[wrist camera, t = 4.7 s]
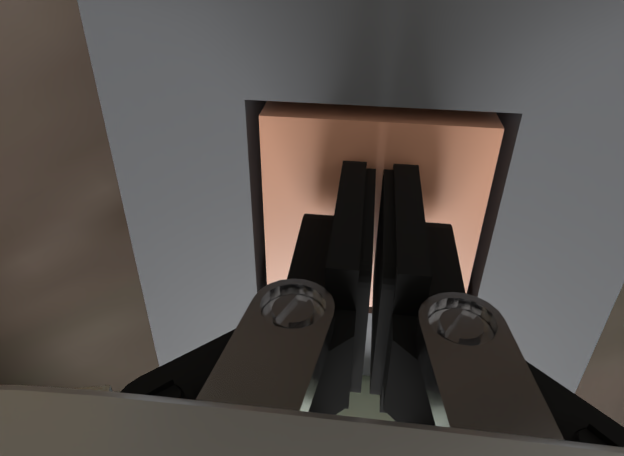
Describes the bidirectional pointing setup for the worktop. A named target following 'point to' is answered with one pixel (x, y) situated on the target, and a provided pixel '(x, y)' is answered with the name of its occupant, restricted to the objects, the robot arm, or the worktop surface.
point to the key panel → (368, 92)
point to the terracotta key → (374, 167)
